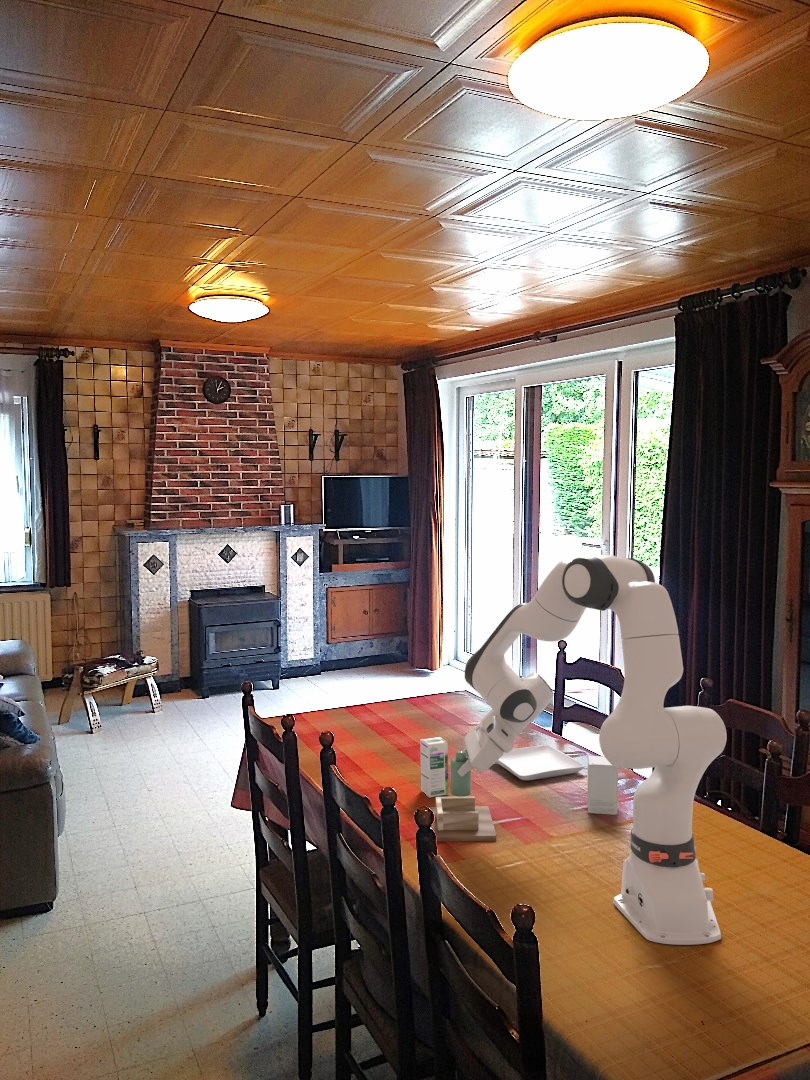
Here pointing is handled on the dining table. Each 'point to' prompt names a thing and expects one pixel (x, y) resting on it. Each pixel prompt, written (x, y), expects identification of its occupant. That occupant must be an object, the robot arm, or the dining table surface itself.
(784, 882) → the dining table surface
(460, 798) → the u rest
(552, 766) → the salad plate
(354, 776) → the dining table surface
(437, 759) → the syrup box
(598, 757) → the supplement box
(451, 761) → the green bottle
